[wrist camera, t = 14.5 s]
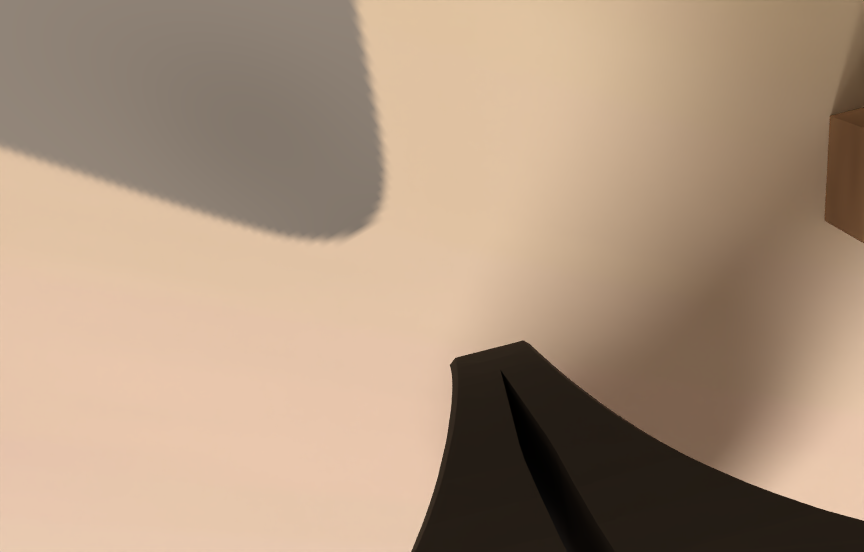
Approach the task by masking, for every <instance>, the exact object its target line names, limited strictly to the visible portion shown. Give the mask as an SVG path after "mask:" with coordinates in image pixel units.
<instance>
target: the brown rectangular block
mask: <svg viewBox="0 0 864 552" xmlns="http://www.w3.org/2000/svg"><path fill="white" fill-rule="evenodd" d="M825 221H826V222H828V223H830V224H832V225H833V226H835V227H837V228H838V229H840V230H842V231H844V232H845V233H847V234H849V235H851V236H852V237H854V238H856V239H857V240H859V241H861V242H863V243H864V107H863V108H859V109H855V110H851V111H847V112H843V113H839V114H835V115H831V116H830V126H829V145H828V164H827V183H826V202H825Z"/></svg>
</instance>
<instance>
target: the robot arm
mask: <svg viewBox="0 0 864 552" xmlns="http://www.w3.org/2000/svg"><path fill="white" fill-rule="evenodd" d="M450 367H451V371H452V405H451V413H450V420H449V427H448V434H447V440H446V445H445V449H444V453H443V458H442V462H441V466H440V470H439V475H438V478H437V482H436V485H435V489H434V492H433V495H432V499H431V502H430V505H429V507H428V510H427V513H426V516H425V519H424V522H423V524H422V527H421V529H420V532H419V534H418V537H417V539H416V542H415V544H414V546H413V549H412V551H411V552H864V521H862V520H859V519H855V518H851V517H848V516H844V515H840V514H837V513H833V512H829V511H826V510H823V509H819V508H816V507H813V506H810V505H807V504H804V503H801V502H799V501H796V500H793V499H790V498H787V497H784V496H781V495H778V494H775V493H772V492H770V491H767V490H765V489H762V488H759V487H757V486H754V485H751V484H749V483H746V482H744V481H742V480H739V479H737V478H735V477H732V476H730V475H728V474H725V473H723V472H721V471H718V470H716V469H714V468H712V467H709V466H707V465H705V464H703V463H701V462H698V461H696V460H694V459H692V458H690V457H688V456H686V455H684V454H682V453H680V452H678V451H677V450H675V449H673V448H671V447H669V446H667V445H665V444H664V443H662V442H660V441H658V440H657V439H655V438H653V437H652V436H650V435H648V434H647V433H645V432H643V431H642V430H640V429H638V428H637V427H635V426H634V425H632V424H631V423H629V422H628V421H626V420H625V419H623V418H622V417H620V416H618V415H617V414H615V413H614V412H613V411H611V410H610V409H608V408H607V407H605V406H604V405H603V404H601V403H600V402H599V401H597V400H596V399H595V398H593V397H592V396H591V395H589V394H588V393H587V392H585V391H584V390H583V389H581V388H580V387H579V386H577V385H576V384H575V383H574V382H572V381H571V380H570V379H569V378H567V377H566V376H565V375H564V374H563V373H561V372H560V371H559V370H558V369H557V368H555V367H554V366H553V365H552V364H551V363H550V362H549V361H547V360H546V359H545V358H544V357H543V356H542V355H541V354H540V353H539V352H538V351H537V350H535V349H534V348H533V347H532V346H531V345H530V344H529V343H527V342H525V341H520V342H516V343H512V344H508V345H504V346H500V347H496V348H492V349H488V350H484V351H481V352H477V353H473V354H469V355H465V356H461V357H457V358H455V359H454V360H453V362H452V363H451V364H450Z"/></svg>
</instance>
